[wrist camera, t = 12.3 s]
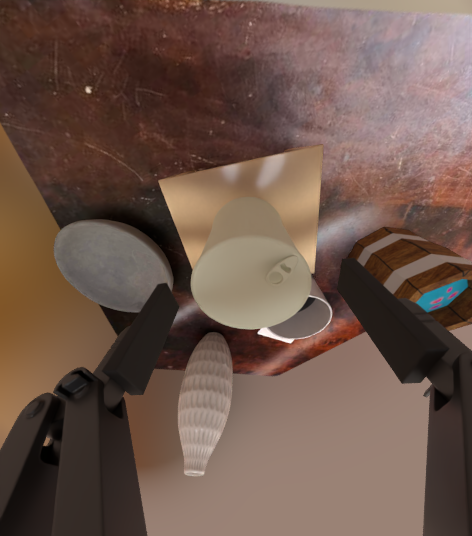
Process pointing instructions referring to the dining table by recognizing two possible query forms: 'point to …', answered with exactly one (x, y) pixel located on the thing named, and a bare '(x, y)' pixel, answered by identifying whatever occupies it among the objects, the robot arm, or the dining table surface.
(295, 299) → the can
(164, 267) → the bowl
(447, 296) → the mug
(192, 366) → the vase
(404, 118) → the dining table surface
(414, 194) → the dining table surface
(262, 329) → the white paper sheet
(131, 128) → the dining table surface
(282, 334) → the planter
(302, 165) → the shelf
